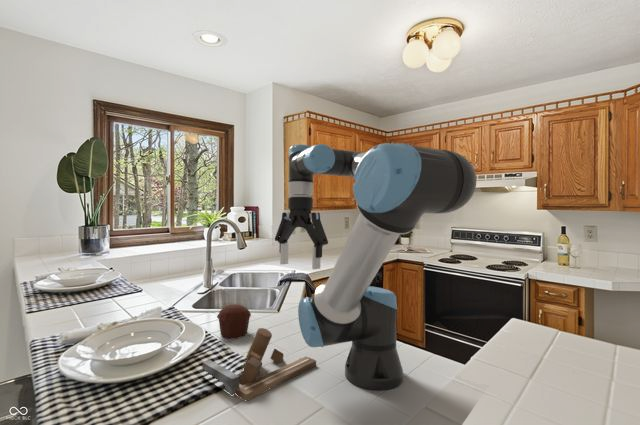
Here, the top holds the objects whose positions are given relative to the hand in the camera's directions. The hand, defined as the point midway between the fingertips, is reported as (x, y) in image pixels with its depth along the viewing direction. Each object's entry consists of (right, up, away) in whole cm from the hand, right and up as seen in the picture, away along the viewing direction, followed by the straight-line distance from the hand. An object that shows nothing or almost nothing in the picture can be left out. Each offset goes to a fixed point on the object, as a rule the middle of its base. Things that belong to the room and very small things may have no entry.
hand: (299, 266), depth 100 cm
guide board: (-9, -26, -12) cm, 30 cm away
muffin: (-24, -27, +16) cm, 40 cm away
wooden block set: (-10, -27, -12) cm, 31 cm away
